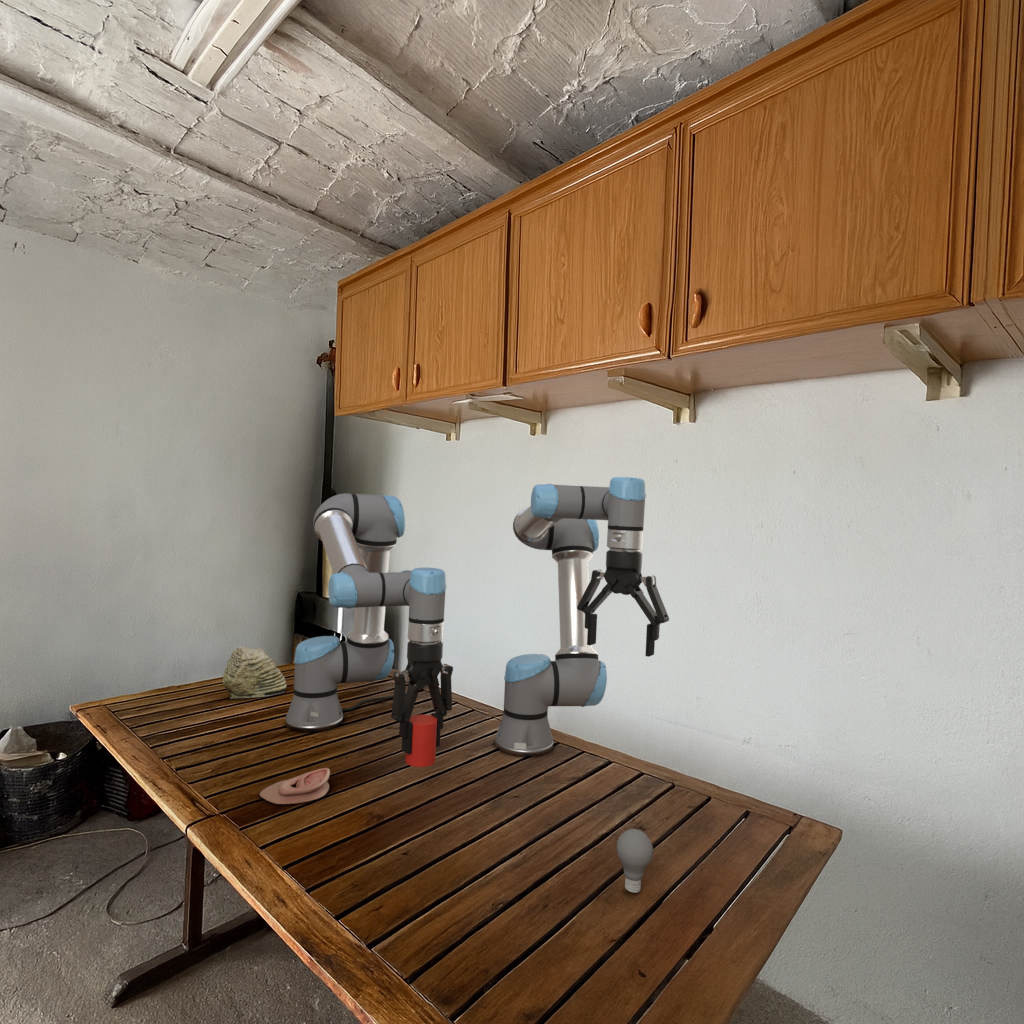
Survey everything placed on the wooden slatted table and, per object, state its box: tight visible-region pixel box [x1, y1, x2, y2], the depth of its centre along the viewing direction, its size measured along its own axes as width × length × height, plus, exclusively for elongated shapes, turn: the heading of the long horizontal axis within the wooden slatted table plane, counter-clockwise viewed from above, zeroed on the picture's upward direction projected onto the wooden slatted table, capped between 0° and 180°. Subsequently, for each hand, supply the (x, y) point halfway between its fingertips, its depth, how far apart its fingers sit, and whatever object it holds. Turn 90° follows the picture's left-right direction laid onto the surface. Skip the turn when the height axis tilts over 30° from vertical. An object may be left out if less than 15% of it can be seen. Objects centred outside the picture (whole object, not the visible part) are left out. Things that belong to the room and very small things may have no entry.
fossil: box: [222, 646, 288, 699], centre depth 198 cm, size 9×18×15 cm, turn 132°
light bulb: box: [615, 828, 654, 894], centre depth 106 cm, size 6×6×10 cm
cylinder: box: [404, 714, 437, 768], centre depth 135 cm, size 6×6×9 cm
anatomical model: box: [259, 767, 331, 805], centre depth 135 cm, size 13×4×12 cm
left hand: (420, 748), depth 135 cm, fingers closed on cylinder, 6 cm apart
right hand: (619, 649), depth 135 cm, fingers open, 13 cm apart
